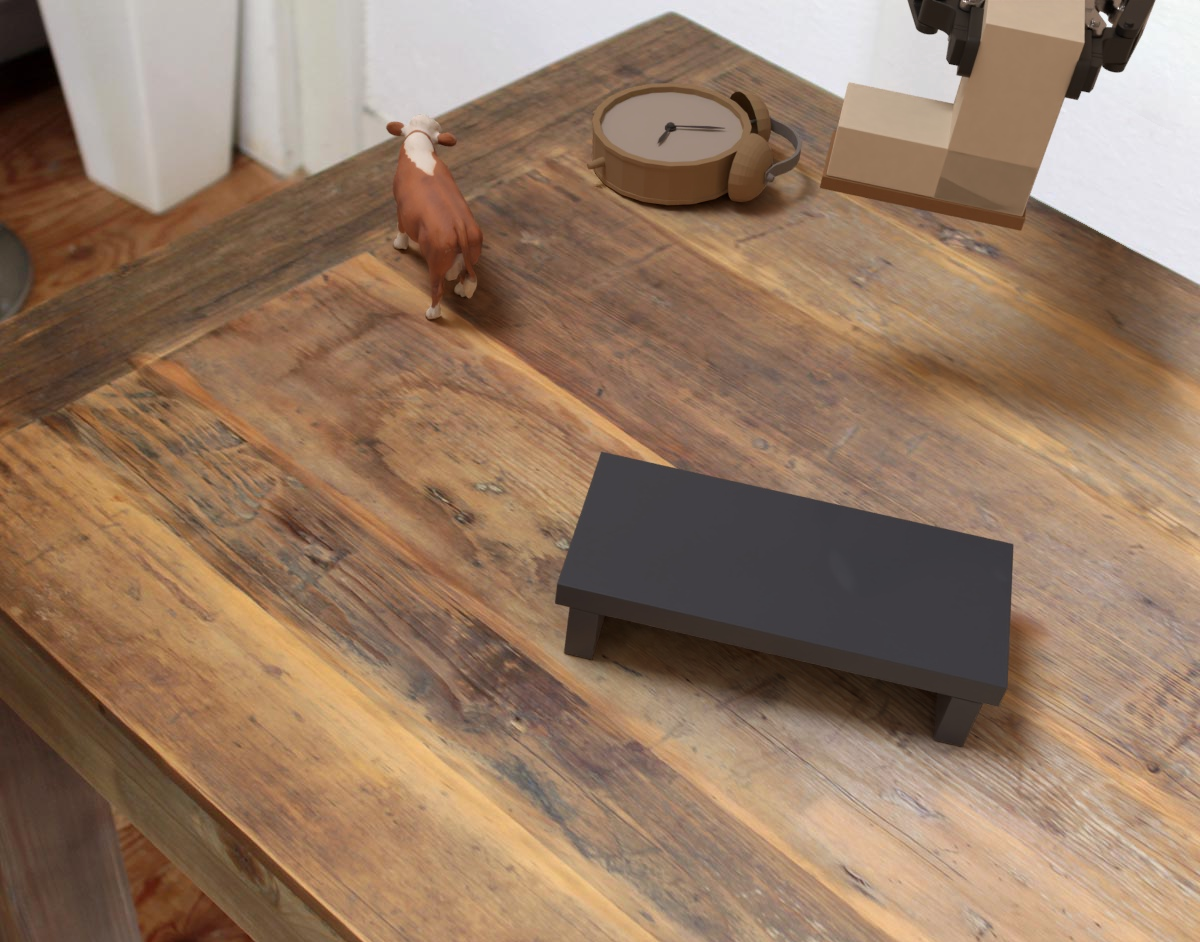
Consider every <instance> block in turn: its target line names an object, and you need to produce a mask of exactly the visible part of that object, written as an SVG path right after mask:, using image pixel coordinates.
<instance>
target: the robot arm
mask: <svg viewBox="0 0 1200 942" xmlns="http://www.w3.org/2000/svg"><path fill="white" fill-rule="evenodd" d="M907 3H908V7H909V11H910V13H911V17H912V20H913V23H914V27H915V29H916V30H917V32H919V33H921V34H923V35H929V36H930V35H936V34H938V32H939V31H941V32H943V33H945V34H946V35H947V42H948V43H947V49H946V56H945V60H946V61H947V63H948V65H951V66H956V74H955V75H956V76H958V77H967V78H970V76H971V73H972V69H973V66H974V63H975V60H976V56H977V53H978V50H979V46H980V42H981V41H980V40H981V33H982V24H983V15H984V9H983V8H982V7H983V6H984V3H985V0H907ZM1155 3H1156V0H1085V43H1084V46H1083V49H1082V52H1081V54H1080V57H1079V60H1078V61H1077V64H1076V67H1075V70H1074V72H1073V75H1072V78H1071V81H1070V83H1069V86H1068V89H1067V92H1066V95H1065V99H1068V100H1069V99H1070V100H1075V101H1079V98H1080V97H1081V94H1082V93H1087V94H1090V93H1091V92H1092V91H1093V90H1094V88H1095V86H1096V83H1097V80H1098V77H1099V74H1100V72H1101V69H1102V68H1103V69H1104V70H1105V71H1108V72H1110V73H1116V74H1119V73H1122V72H1124V71H1125V69H1126V67H1127V65H1128V63H1129V61H1130V59H1131V58H1132V55H1133V53H1134V51H1135V49H1136V48H1137V46H1138V44H1139V42H1140V40H1141V38H1142V36H1143V34H1144V31H1145V29H1146V26H1147V24H1148V21H1149V18H1150V16H1151V14H1152V11H1153V8H1154V5H1155ZM1100 12H1102V13H1103V14H1104V15H1106V16H1107V22H1108V23H1110V24H1112V25H1111V26H1107V25H1108V24H1107V22H1106V21H1105V20H1104V18H1103V17H1102V15H1101V14H1100Z"/></svg>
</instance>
